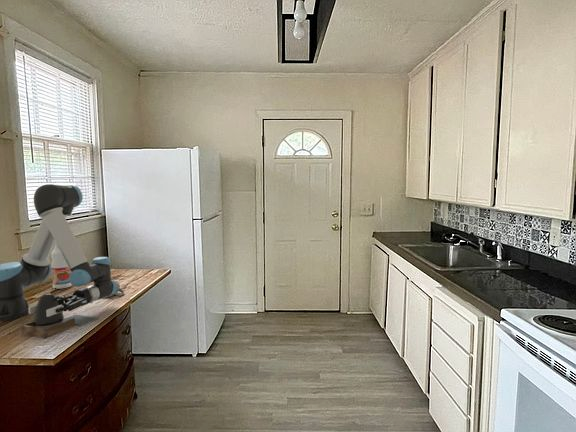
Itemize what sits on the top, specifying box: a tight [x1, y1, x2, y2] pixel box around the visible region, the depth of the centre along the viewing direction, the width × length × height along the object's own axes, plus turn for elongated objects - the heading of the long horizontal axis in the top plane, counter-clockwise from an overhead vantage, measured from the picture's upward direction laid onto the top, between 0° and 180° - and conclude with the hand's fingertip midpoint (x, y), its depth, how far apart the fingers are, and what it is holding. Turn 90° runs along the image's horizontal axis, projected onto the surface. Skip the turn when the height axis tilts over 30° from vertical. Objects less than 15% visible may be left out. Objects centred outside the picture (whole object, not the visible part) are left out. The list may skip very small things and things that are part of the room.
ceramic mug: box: [108, 279, 125, 298], centre depth 200 cm, size 11×8×8 cm
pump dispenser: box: [33, 293, 65, 329], centre depth 153 cm, size 10×10×15 cm
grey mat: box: [63, 314, 98, 327], centre depth 164 cm, size 13×9×1 cm
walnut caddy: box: [20, 318, 76, 339], centre depth 153 cm, size 14×13×4 cm
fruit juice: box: [50, 241, 72, 290], centre depth 216 cm, size 9×9×28 cm
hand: (38, 311), depth 149 cm, fingers closed on pump dispenser, 9 cm apart
